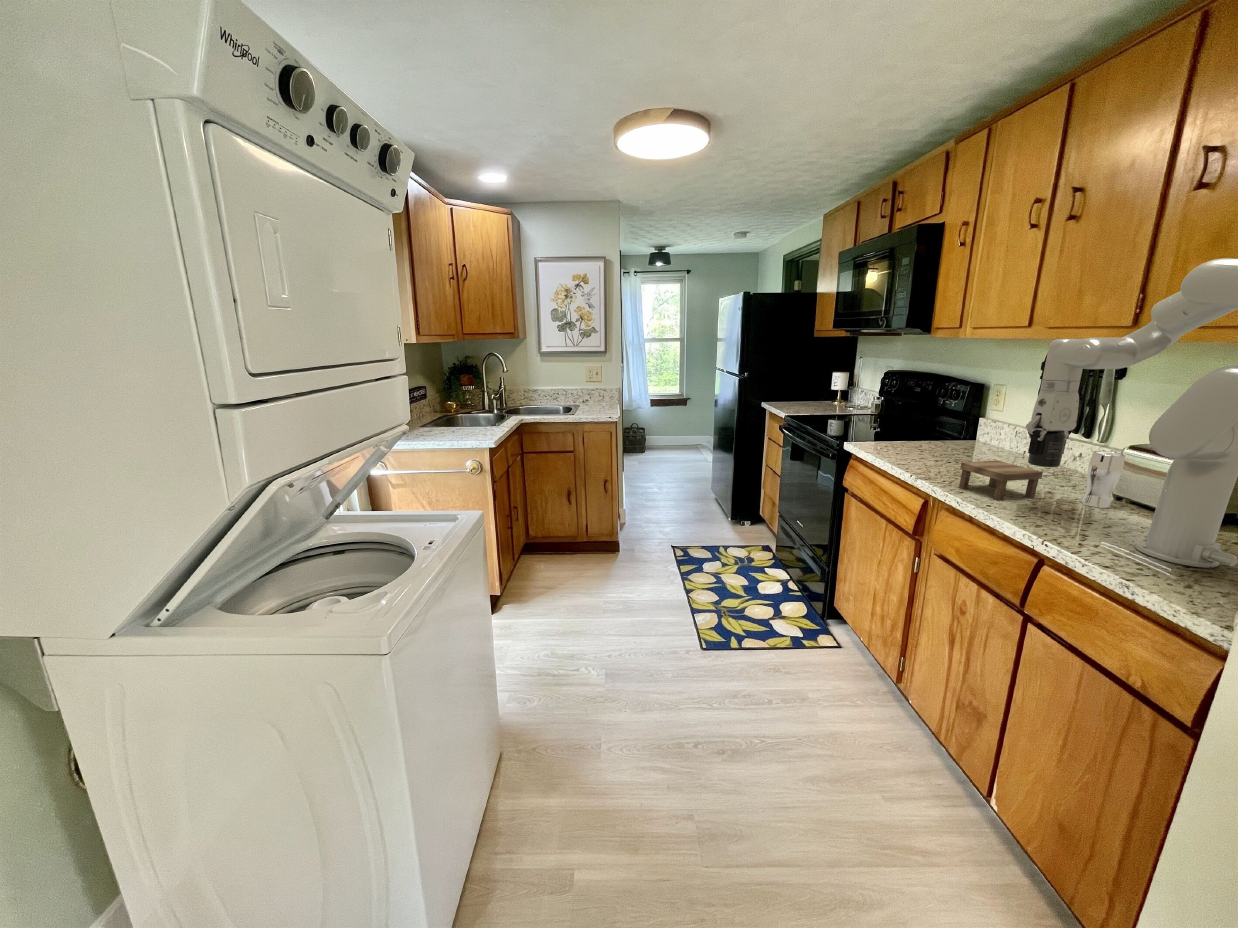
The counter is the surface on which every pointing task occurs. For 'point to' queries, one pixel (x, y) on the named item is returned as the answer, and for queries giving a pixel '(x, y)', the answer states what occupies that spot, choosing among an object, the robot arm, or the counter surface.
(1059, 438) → the supplement bottle
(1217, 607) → the counter surface
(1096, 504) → the beer glass
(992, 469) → the walnut stool
